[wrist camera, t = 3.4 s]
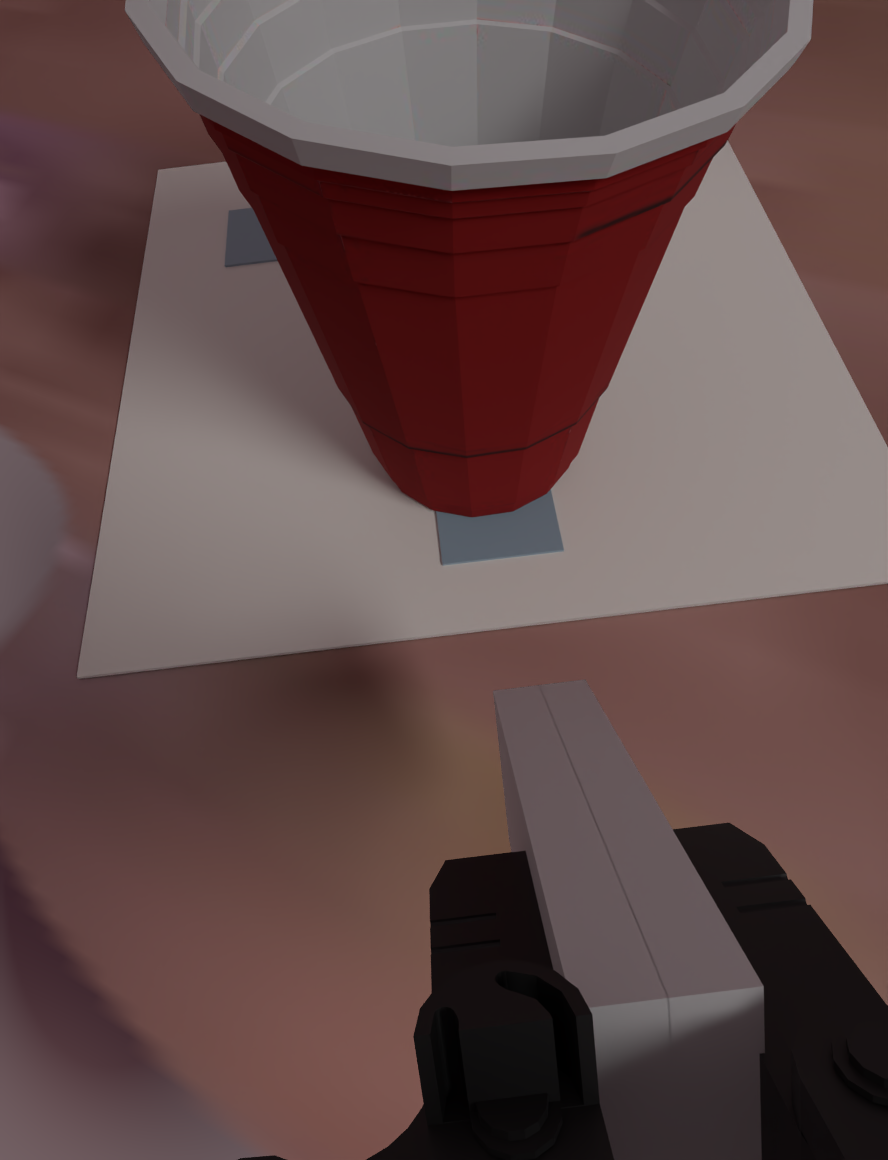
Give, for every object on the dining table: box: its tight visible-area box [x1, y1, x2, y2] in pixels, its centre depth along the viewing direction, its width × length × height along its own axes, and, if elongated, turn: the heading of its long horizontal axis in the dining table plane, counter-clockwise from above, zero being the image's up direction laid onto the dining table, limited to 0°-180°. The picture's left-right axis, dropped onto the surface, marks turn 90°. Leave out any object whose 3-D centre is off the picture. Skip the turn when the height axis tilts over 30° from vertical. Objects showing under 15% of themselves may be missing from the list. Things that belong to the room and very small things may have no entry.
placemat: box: [77, 140, 888, 679], centre depth 25 cm, size 22×22×1 cm
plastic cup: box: [125, 0, 813, 517], centre depth 17 cm, size 11×11×12 cm
